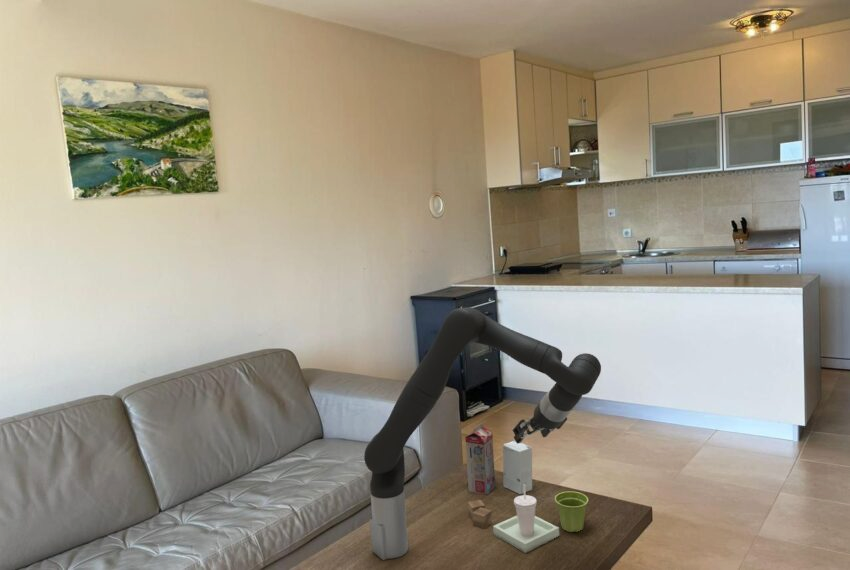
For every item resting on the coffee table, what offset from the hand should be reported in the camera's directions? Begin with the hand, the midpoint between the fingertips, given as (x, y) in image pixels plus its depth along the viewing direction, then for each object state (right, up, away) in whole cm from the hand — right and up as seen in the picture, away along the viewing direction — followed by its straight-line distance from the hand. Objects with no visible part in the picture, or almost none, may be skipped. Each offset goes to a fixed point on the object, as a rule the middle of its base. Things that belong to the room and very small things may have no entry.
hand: (529, 437), depth 173 cm
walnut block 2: (-12, -29, +13) cm, 34 cm away
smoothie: (0, -28, +5) cm, 29 cm away
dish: (0, -29, +5) cm, 29 cm away
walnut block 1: (-13, -28, +18) cm, 36 cm away
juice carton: (-10, -26, +36) cm, 45 cm away
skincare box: (+2, -25, +34) cm, 43 cm away
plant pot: (+13, -28, +8) cm, 32 cm away
